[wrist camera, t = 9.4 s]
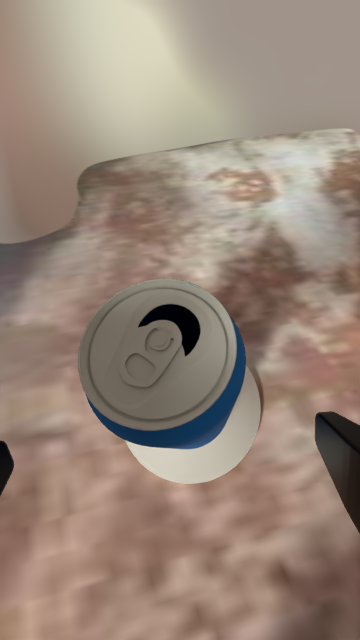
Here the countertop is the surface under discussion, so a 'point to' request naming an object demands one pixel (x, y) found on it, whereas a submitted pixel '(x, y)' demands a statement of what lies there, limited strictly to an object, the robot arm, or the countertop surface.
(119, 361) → the beverage can
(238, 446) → the white round disc
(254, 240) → the countertop surface
